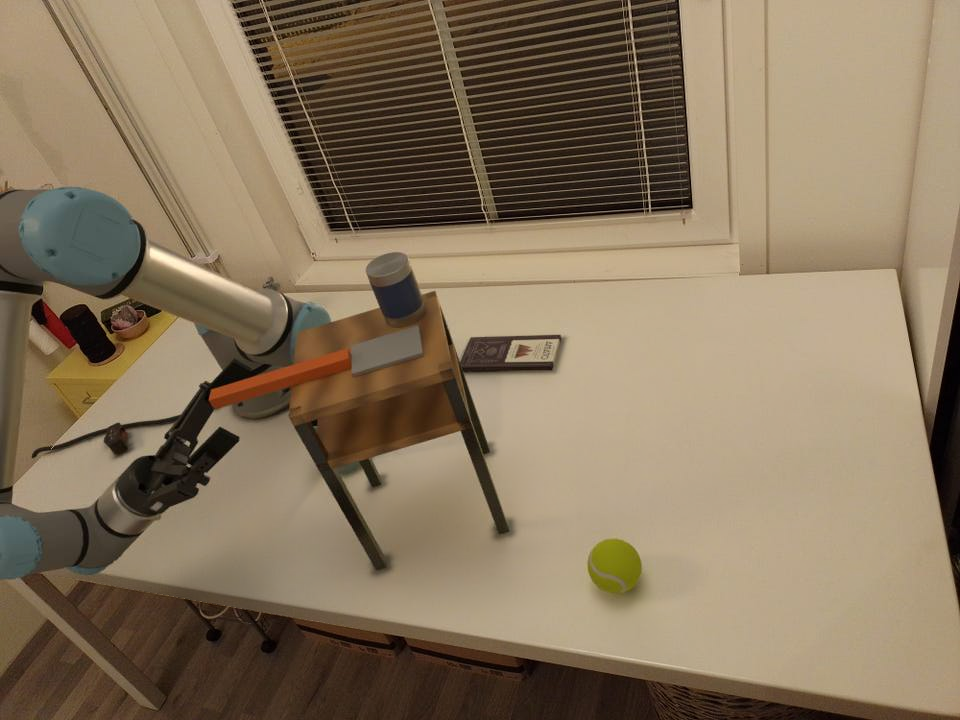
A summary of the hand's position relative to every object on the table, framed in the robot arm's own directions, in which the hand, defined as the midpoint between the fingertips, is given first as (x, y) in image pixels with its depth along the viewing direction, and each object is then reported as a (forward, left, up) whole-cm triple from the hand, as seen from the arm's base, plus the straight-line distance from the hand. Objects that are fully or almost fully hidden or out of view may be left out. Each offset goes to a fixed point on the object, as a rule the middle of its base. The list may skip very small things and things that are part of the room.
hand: (236, 397), depth 88 cm
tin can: (+23, +7, 0) cm, 24 cm away
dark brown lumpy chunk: (-45, +42, -31) cm, 69 cm away
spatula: (+11, 0, 0) cm, 11 cm away
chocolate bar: (+35, +33, -31) cm, 57 cm away
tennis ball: (+39, -19, -31) cm, 54 cm away
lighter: (-12, +71, -31) cm, 78 cm away
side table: (+17, +2, -31) cm, 36 cm away
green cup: (+3, +19, -31) cm, 37 cm away
